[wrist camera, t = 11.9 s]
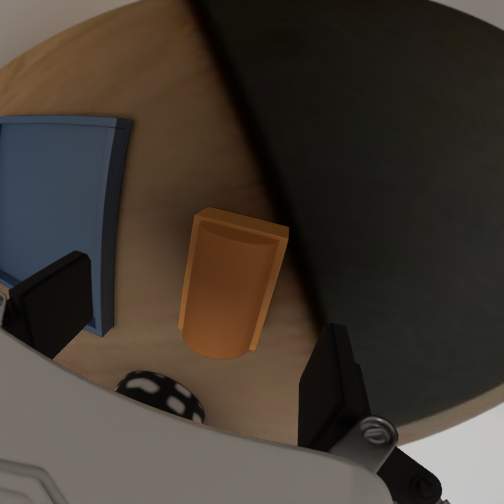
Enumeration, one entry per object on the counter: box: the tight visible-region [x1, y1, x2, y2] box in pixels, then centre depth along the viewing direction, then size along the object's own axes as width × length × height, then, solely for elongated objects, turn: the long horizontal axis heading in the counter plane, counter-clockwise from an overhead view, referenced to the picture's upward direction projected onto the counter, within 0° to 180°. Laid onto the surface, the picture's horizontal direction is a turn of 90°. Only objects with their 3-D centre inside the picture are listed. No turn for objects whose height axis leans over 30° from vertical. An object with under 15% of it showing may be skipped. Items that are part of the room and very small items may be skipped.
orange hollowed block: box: [178, 207, 289, 360], centre depth 16 cm, size 7×5×4 cm
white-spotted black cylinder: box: [114, 371, 204, 424], centre depth 13 cm, size 8×8×20 cm
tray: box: [0, 115, 132, 337], centre depth 18 cm, size 15×15×2 cm
